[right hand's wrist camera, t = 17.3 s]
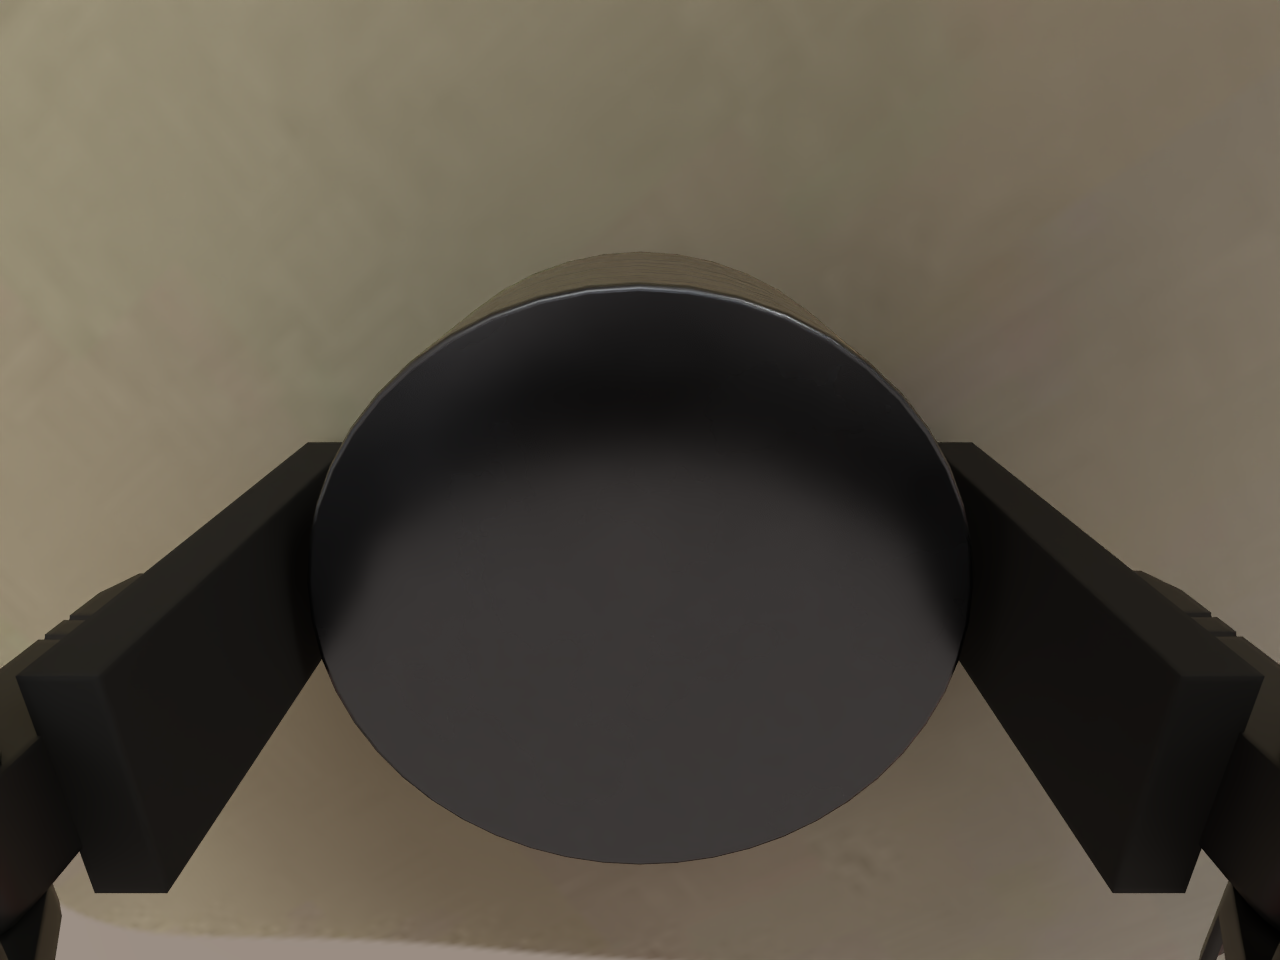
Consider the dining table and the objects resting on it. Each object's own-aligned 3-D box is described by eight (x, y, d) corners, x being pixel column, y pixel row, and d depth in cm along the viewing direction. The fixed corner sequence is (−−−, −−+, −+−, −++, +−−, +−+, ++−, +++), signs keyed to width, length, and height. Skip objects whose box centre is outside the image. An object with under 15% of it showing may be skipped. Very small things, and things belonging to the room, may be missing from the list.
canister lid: (364, 250, 12) (244, 283, 9) (917, 250, 12) (1036, 283, 9) (423, 702, 16) (355, 865, 12) (858, 703, 16) (925, 868, 12)
